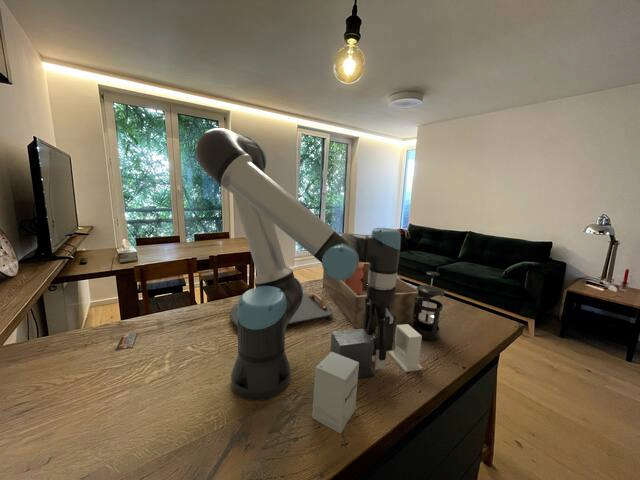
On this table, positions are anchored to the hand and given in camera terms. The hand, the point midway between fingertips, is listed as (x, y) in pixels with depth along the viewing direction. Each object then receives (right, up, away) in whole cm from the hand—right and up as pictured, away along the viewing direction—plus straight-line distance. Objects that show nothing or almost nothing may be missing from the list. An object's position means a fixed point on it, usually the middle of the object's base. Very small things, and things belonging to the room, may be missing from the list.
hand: (374, 361), depth 79 cm
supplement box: (-13, -4, -17) cm, 22 cm away
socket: (+10, -1, +3) cm, 10 cm away
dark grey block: (-7, -1, -2) cm, 8 cm away
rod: (-3, +3, -1) cm, 4 cm away
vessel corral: (+4, +7, +44) cm, 45 cm away
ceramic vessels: (+5, +6, +42) cm, 43 cm away
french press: (+22, +1, +20) cm, 29 cm away
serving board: (-31, +5, +29) cm, 42 cm away
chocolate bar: (-76, +3, +7) cm, 76 cm away
